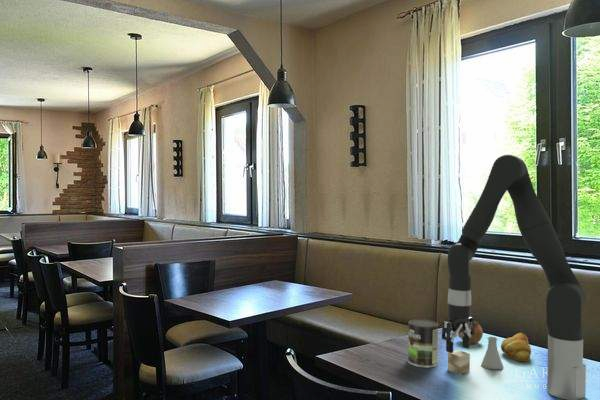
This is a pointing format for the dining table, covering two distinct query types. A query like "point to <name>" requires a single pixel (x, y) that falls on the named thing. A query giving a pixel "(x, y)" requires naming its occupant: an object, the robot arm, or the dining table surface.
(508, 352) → the bread roll
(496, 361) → the flask
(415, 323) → the coffee can
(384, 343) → the dining table surface
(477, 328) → the onion
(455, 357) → the maple block
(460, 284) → the robot arm
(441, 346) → the dining table surface
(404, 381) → the dining table surface
